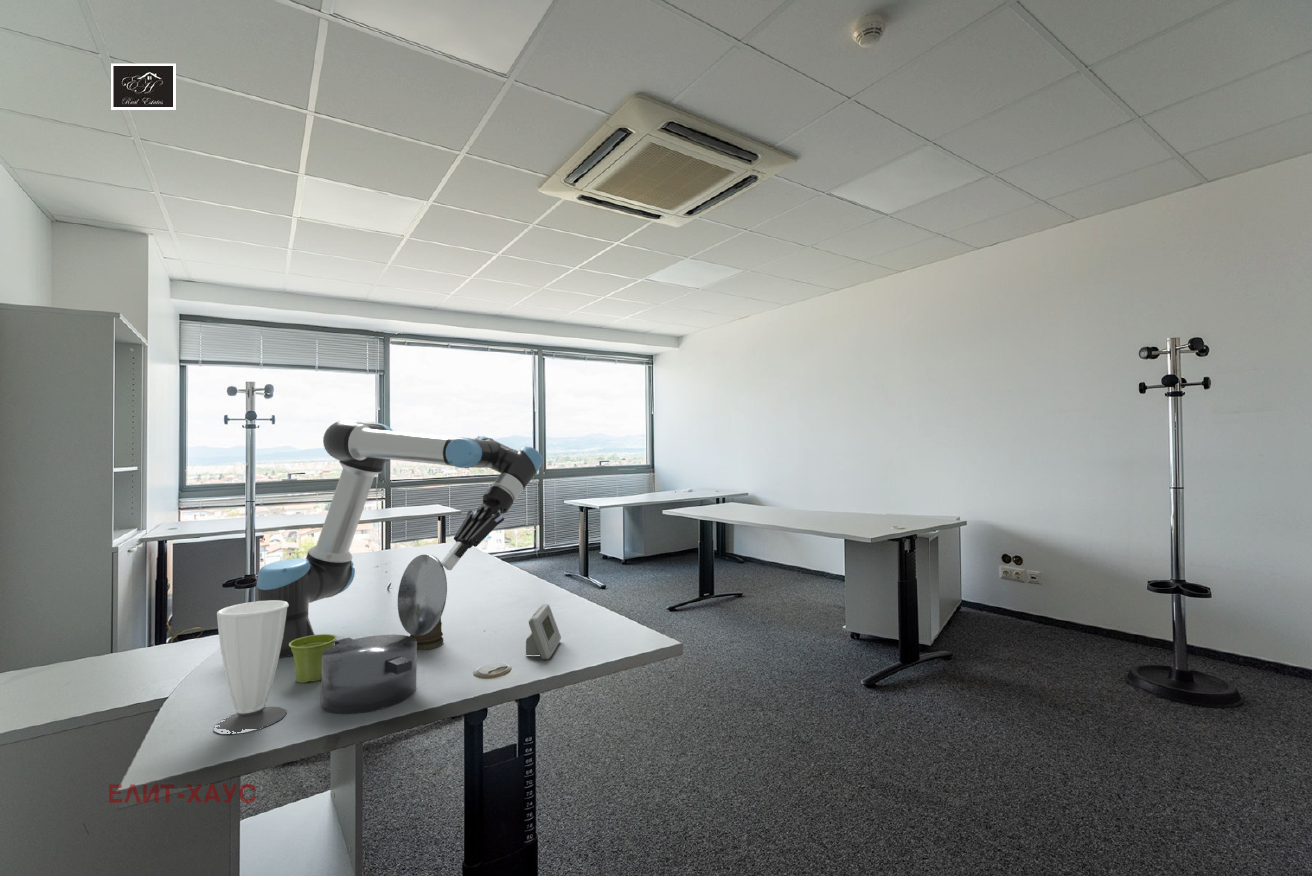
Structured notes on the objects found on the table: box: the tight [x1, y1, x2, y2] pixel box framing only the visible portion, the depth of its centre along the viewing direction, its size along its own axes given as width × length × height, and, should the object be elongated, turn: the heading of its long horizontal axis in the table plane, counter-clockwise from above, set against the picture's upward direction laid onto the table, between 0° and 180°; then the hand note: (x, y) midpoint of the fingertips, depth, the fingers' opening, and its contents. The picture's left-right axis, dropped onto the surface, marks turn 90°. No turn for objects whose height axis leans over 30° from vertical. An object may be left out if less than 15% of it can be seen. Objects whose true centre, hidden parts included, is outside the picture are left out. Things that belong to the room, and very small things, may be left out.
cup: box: [213, 600, 289, 734], centre depth 107 cm, size 12×12×22 cm
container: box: [409, 617, 444, 651], centre depth 151 cm, size 9×9×18 cm
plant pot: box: [289, 633, 337, 684], centre depth 128 cm, size 9×9×9 cm
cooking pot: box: [320, 634, 418, 715], centre depth 118 cm, size 27×18×10 cm, turn 54°
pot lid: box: [397, 554, 448, 636], centre depth 128 cm, size 18×18×2 cm
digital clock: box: [525, 603, 562, 660], centre depth 145 cm, size 16×9×11 cm, turn 168°
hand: (445, 566), depth 133 cm, fingers closed
